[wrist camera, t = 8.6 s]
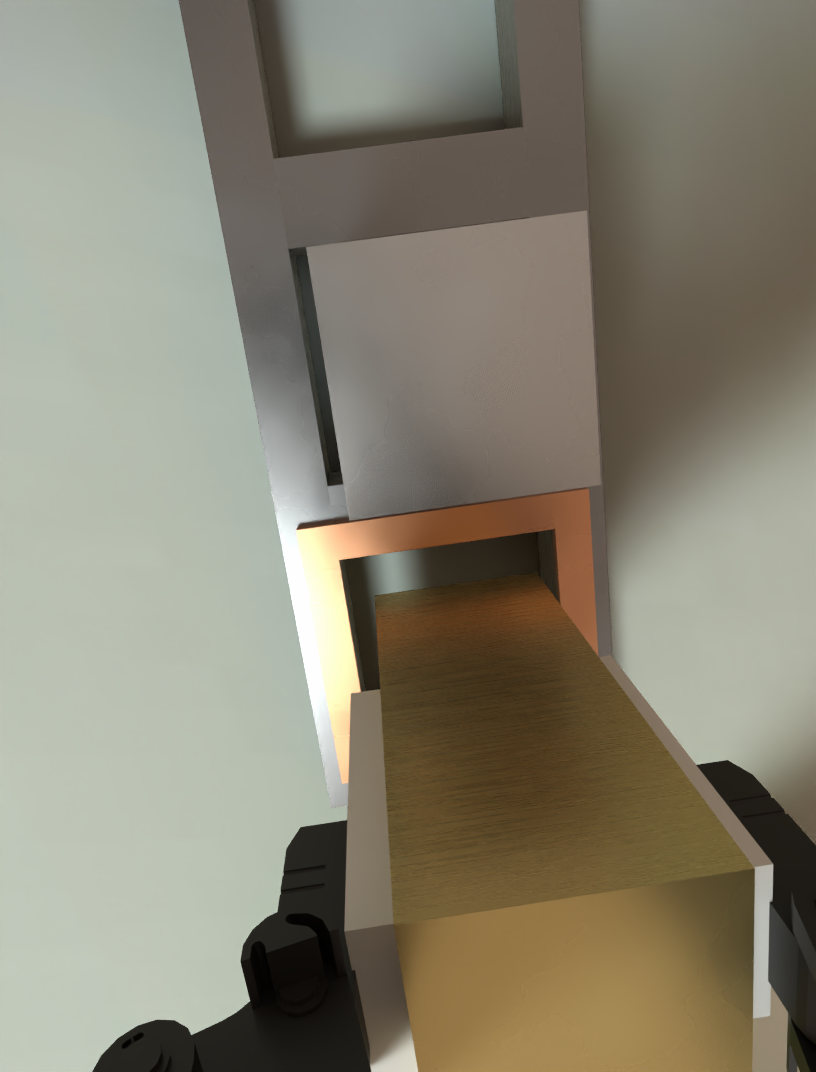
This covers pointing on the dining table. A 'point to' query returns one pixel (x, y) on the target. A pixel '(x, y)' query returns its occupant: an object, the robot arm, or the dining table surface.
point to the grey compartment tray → (372, 212)
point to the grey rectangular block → (460, 363)
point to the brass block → (549, 852)
